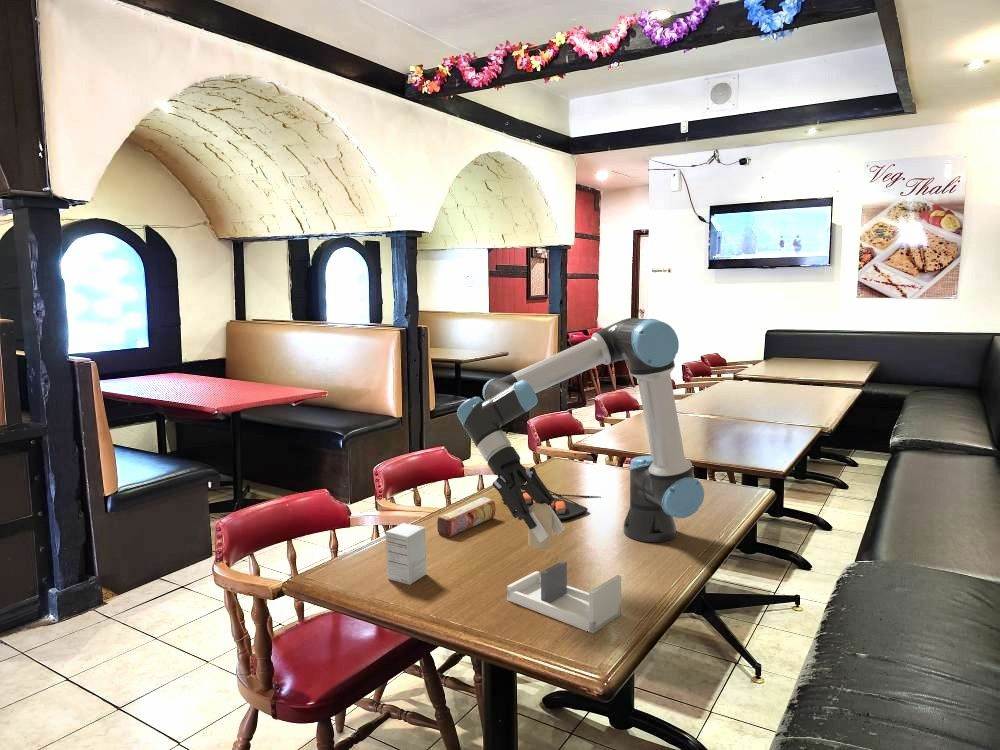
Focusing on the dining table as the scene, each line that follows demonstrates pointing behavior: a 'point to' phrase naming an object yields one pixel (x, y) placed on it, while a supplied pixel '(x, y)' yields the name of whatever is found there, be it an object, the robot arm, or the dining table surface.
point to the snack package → (466, 517)
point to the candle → (545, 519)
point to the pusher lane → (571, 602)
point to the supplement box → (406, 553)
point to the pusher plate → (554, 582)
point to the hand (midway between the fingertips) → (552, 535)
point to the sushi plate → (561, 505)
